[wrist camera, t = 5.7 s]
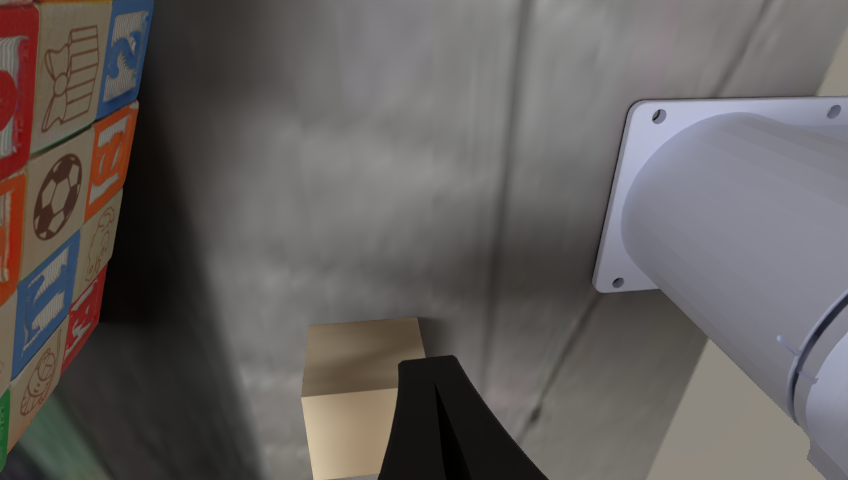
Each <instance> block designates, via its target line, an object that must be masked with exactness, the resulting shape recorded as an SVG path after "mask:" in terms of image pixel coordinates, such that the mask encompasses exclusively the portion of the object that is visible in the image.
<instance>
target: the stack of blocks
mask: <svg viewBox="0 0 848 480" xmlns="http://www.w3.org/2000/svg"><path fill="white" fill-rule="evenodd" d="M153 9H154V0H0V472H1V471H2V469H3V467H4V466H5V462H6V457H7V454H8V453H9V451H10V450H11V449H12V447H13V446H14V445H15V443H16V442H17V441H18V439H19V438H20V436H21V435H22V434H23V432H24V431H25V429H26V428H27V427H28V425H29V424H30V422H31V421H32V419H33V418H34V417H35V415H36V414H37V412H38V411H39V410H40V408H41V407H42V405H43V404H44V403H45V401H46V400H47V398H48V397H49V395H50V394H51V392H52V391H53V390H54V388H55V387H56V385H57V384H58V381H59V377H60V376H61V375H62V373H63V372H64V370H65V369H66V368H67V367H68V366H69V364H70V363H71V361H72V360H73V358H74V357H75V356H76V355H77V353H78V352H79V351H80V349H81V348H82V346H83V345H84V343H85V342H86V340H87V339H88V337H89V336H90V334H91V333H92V331H93V330H94V328H95V327H96V325H97V324H98V321H99V316H100V308H101V302H102V295H103V289H104V282H105V277H106V269H107V265H108V263H107V262H108V261H109V259H110V258H111V256H112V252H113V246H114V240H115V235H116V229H117V223H118V218H119V212H120V206H121V200H122V194H123V188H122V186H123V184H124V182H125V179H126V174H127V169H128V164H129V158H130V152H131V147H132V142H133V136H134V131H135V125H136V119H137V114H138V110H139V103H138V100H137V95H138V92H139V87H140V82H141V75H142V69H143V63H144V58H145V53H146V47H147V41H148V36H149V30H150V25H151V20H152V14H153Z"/></svg>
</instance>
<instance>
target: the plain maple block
mask: <svg viewBox="0 0 848 480" xmlns="http://www.w3.org/2000/svg"><path fill="white" fill-rule="evenodd" d="M420 358H426V357H425V352H424V348H423V343H422V338H421V333H420V329H419V324H418V319H417V317H411V318H398V319H385V320H373V321H360V322H347V323H334V324H322V325H309V328H308V338H307V348H306V357H305V367H304V376H303V386H302V395H301V399H302V406H303V412H304V419H305V425H306V432H307V439H308V445H309V452H310V458H311V465H312V472H313V478H314V480H328V479H336V478H345V477H353V476H361V475H370V474H378V473H380V470H381V466H382V463H383V459H384V455H385V452H386V448H387V445H388V441H389V437H390V432H391V427H392V422H393V417H394V412H395V407H396V400H397V393H398V364H399V363H400V362H401V361H402V360H411V359H420Z"/></svg>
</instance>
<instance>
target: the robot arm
mask: <svg viewBox="0 0 848 480" xmlns="http://www.w3.org/2000/svg"><path fill="white" fill-rule="evenodd" d="M830 108H831V110H830V112H829V113H828V111H829V109H830ZM659 109H660V115H659V117H658V118H657V119H656V120H654V121H652V116H653V114H654V113H655V112H656V111H657V110H659ZM827 113H828V114H827ZM617 278H619V280H618V281H616V282H614V283H613V281H614V280H615V279H617ZM592 284H593V286H594V287H595V289H596V290H597V291H599V292H600V293H610V292H623V291H636V290H649V289H660V290H661V291H662V292H663V293H664V294H665V295H666V296H667V297H669V298H670V299H671V300H672V301H673V302H674V303H675V304H676V305H677V306H678V307H679V308H680V309H681V310H682V311H683V312H684V313H685V314H686V315H687V316H688V317H689V318H690V319H691V320H692V321H693V322H694V323H695V324H696V325H697V326H698V327H699V328H700V329H701V330H702V331H703V332H704V333H705V334H706V335H707V336H708V337H709V338H710V339H711V340H712V341H713V342H714V343H715V344H716V345H717V346H718V347H719V348H720V349H721V350H722V351H723V352H724V353H725V354H726V355H727V356H728V357H729V358H730V359H731V360H732V361H733V362H734V363H735V364H736V365H737V366H738V367H739V368H741V370H743V372H744V373H745V374H746V375H747V376H748V377H749V378H750V379H751V380H752V381H753V382H754V383H755V384H757V386H758V387H759V388H760V389H761V390H763V391H764V392H765V393H766V394H767V395H768V396H769V397H770V398H771V399H772V400H773V401H774V402H775V403H776V404H777V405H778V406H779V407H780V408H781V409H782V410H783V411H784V412H785V413H786V414H787V415H788V416H789V417H790V418H791V419H792V420H793V421H794V422H795V423H796V424H797V425H799V426H800V427H801V428H802V429H803V431H804V432H805V433H806V435H807V436H808V437H809V440H810V450H809V453H808V455H807V459H808V461H809V462H810V463H811V464H812V465H813V466H814V467H815V468H816V469H817V470H818V471H819V472H820V473H821V474H822V475H823V476H824V477H825V478H826V479H827V480H848V96H821V97H820V96H815V97H770V98H725V99H680V100H643V101H639V102H637V103H636V104H634V105H633V106H632V107H631V109H630V110H629V113H628V116H627V120H626V125H625V130H624V134H623V139H622V144H621V148H620V153H619V158H618V162H617V167H616V172H615V176H614V181H613V186H612V190H611V195H610V200H609V204H608V209H607V214H606V218H605V223H604V228H603V232H602V237H601V242H600V246H599V251H598V256H597V260H596V265H595V270H594V274H593V279H592ZM378 480H549V479H548V478H547V477H546V476H545V475H544V474H543V473H542V472H541V471H540V470H539V469H538V468H537V467H536V465H535V464H534V463H533V462H532V461H531V460H530V459H529V458H528V457H527V455H526V454H525V453H524V452H523V451H522V450H521V448H520V447H519V446H518V445H517V444H516V442H515V441H514V440H513V439H512V438H511V436H510V435H509V434H508V433H507V431H506V430H505V429H504V428H503V426H502V425H501V424H500V422H499V421H498V420H497V418H496V417H495V416H494V414H493V413H492V412H491V411H490V409H489V408H488V407H487V405H486V404H485V402H484V401H483V399H482V398H481V397H480V395H479V394H478V392H477V391H476V389H475V388H474V386H473V385H472V383H471V382H470V380H469V378H468V377H467V375H466V374H465V372H464V370H463V368H462V367H461V365H460V363H459V361H458V359H457V358H456V357H455V356H453V355H448V356H439V357H430V358H420V359H411V360H402V361H401V362H400V363H399V364H398V393H397V400H396V407H395V412H394V417H393V422H392V427H391V432H390V437H389V441H388V445H387V448H386V452H385V455H384V459H383V463H382V466H381V470H380V473H379V477H378Z"/></svg>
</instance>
